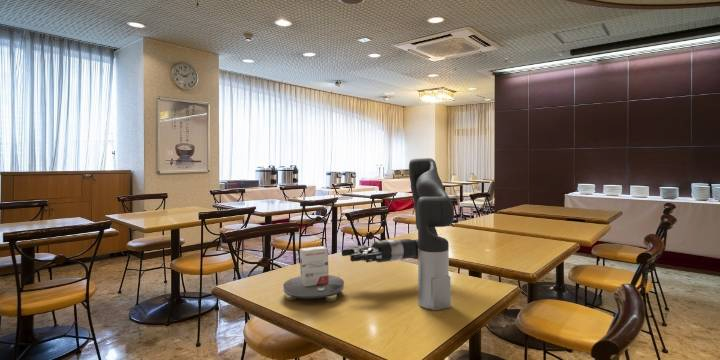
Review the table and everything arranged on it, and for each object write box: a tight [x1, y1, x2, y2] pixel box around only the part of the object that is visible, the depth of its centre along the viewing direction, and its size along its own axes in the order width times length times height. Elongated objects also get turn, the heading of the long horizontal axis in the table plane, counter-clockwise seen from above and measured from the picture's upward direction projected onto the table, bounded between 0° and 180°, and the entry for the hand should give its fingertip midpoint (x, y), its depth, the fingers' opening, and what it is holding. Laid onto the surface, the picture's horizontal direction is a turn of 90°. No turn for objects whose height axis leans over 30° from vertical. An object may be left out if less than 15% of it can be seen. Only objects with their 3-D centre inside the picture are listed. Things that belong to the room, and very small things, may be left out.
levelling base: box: [282, 274, 345, 303], centre depth 127 cm, size 20×20×5 cm
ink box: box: [299, 245, 329, 287], centre depth 127 cm, size 9×5×12 cm, turn 113°
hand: (346, 255), depth 131 cm, fingers open, 8 cm apart
